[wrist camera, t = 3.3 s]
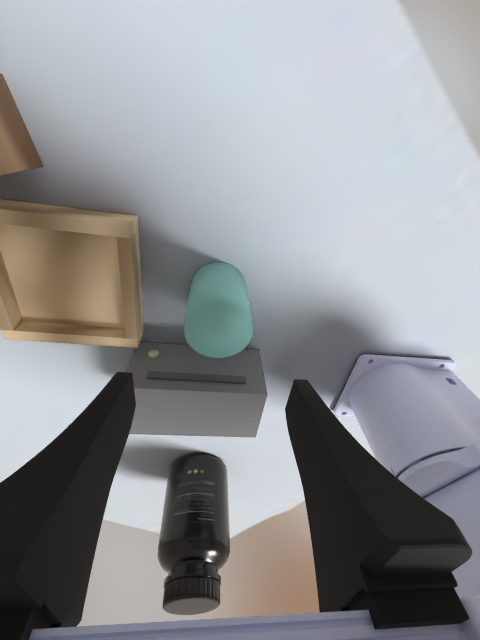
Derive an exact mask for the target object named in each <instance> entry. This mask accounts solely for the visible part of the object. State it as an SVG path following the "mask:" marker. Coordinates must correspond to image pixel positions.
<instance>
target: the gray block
mask: <svg viewBox="0 0 480 640" xmlns="http://www.w3.org/2000/svg"><path fill="white" fill-rule="evenodd" d="M125 373H132V374H133V383H134V392H135V400H136V407H135V412H134V417H133V421H132V425H131V429H130V432H129V434H151V435H187V436H224V437H256V434H257V430H258V427H259V423H260V419H261V416H262V412H263V408H264V405H265V401H266V397H267V390H266V385H265V380H264V374H263V369H262V364H261V358H260V353H259V350H256V349H243V350H242V351H240V352H239V353H237V354H235V355H232V356H229V357H224V358H213V357H208V356H204V355H202V354H200V353H198V352H196V351H195V350H194V349H192V348H191V347H190V345H183V344H168V343H153V342H140V344H139V347H138V348H135V351H134V354H133V356H132V359H130V362H129V364H128V367H127V370H126V372H125Z"/></svg>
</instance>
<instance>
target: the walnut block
mask: <svg viewBox="0 0 480 640" xmlns="http://www.w3.org/2000/svg"><path fill="white" fill-rule="evenodd" d="M38 167H43V164H42V162H41V160H40V158H39V155H38V153H37V151H36V149H35V146H34V144H33V142H32V140H31V137H30V135H29V133H28V131H27V128H26V126H25V124H24V122H23V119H22V117H21V115H20V113H19V110H18V108H17V106H16V104H15V102H14V99H13V97H12V95H11V93H10V90H9V88H8V86H7V84H6V81H5V79H4V77H3V75H2V74H0V176H1V175H6V174H11V173H15V172H20V171H24V170H29V169H33V168H38Z"/></svg>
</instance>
